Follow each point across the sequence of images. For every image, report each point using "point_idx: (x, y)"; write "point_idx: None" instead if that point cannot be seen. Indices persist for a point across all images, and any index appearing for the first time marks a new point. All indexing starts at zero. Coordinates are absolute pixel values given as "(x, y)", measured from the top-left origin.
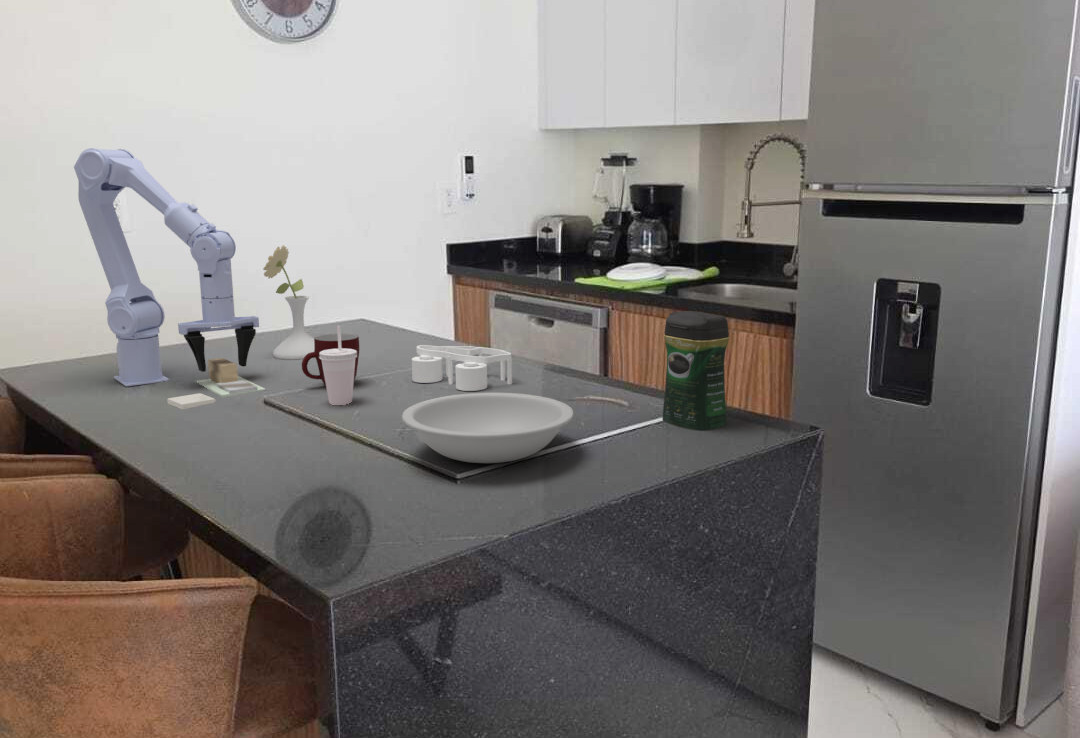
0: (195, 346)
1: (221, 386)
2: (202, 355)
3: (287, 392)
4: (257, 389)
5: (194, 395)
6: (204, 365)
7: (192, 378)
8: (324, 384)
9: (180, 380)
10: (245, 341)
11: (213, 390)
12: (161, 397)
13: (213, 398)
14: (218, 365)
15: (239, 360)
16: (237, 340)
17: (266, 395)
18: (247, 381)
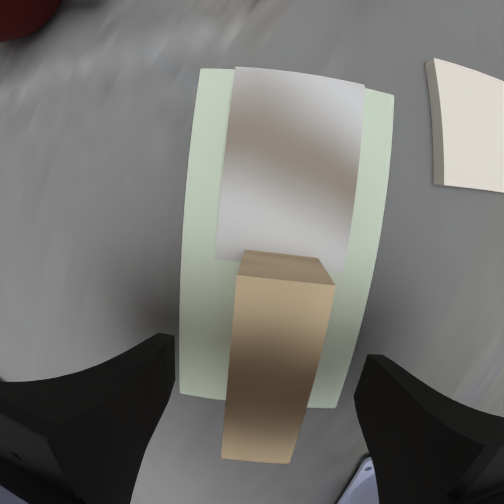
0: (487, 414)
1: (354, 199)
2: (418, 392)
3: (139, 43)
4: (233, 77)
5: (469, 166)
6: (385, 364)
7: (288, 467)
8: (52, 2)
9: (325, 463)
10: (93, 394)
11: (384, 204)
12: (487, 297)
13: (436, 68)
14: (322, 342)
15: (168, 386)
16: (132, 477)
17: (222, 41)
18: (190, 266)
